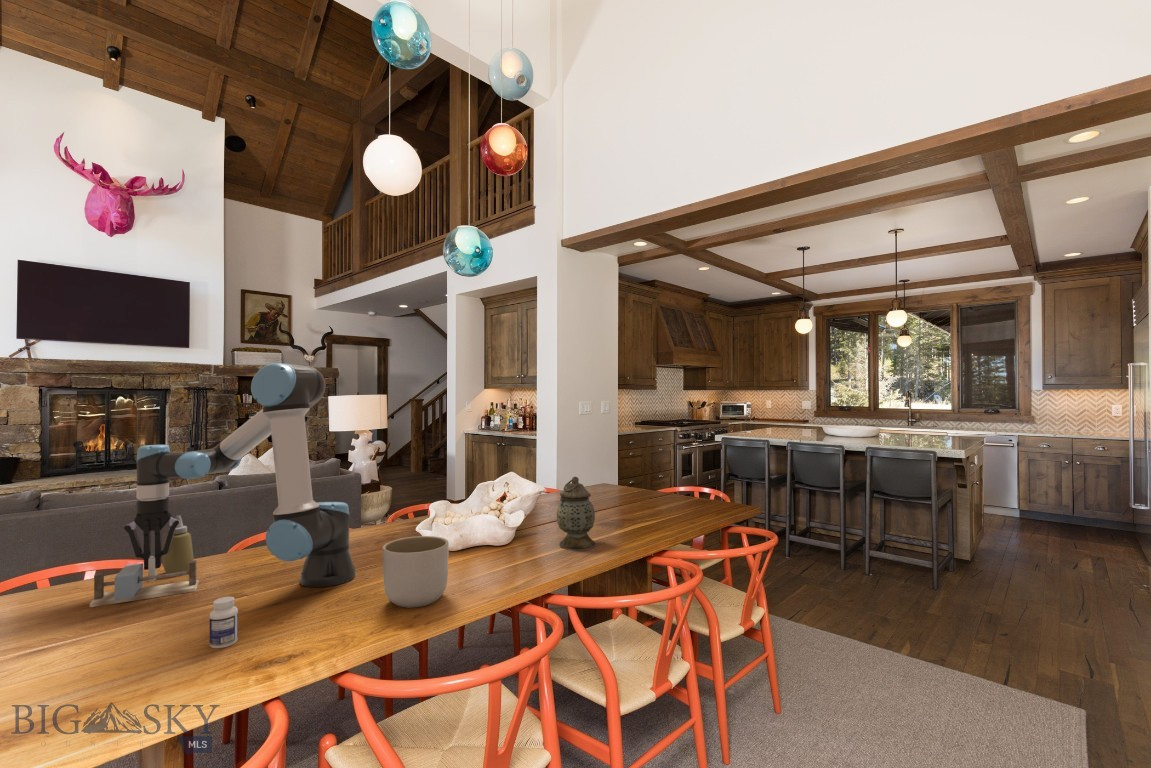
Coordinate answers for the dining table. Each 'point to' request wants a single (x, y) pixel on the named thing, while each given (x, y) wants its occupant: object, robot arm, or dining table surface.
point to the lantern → (575, 516)
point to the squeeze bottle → (179, 550)
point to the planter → (415, 570)
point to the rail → (145, 592)
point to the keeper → (128, 581)
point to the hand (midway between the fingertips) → (152, 579)
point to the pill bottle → (223, 623)
